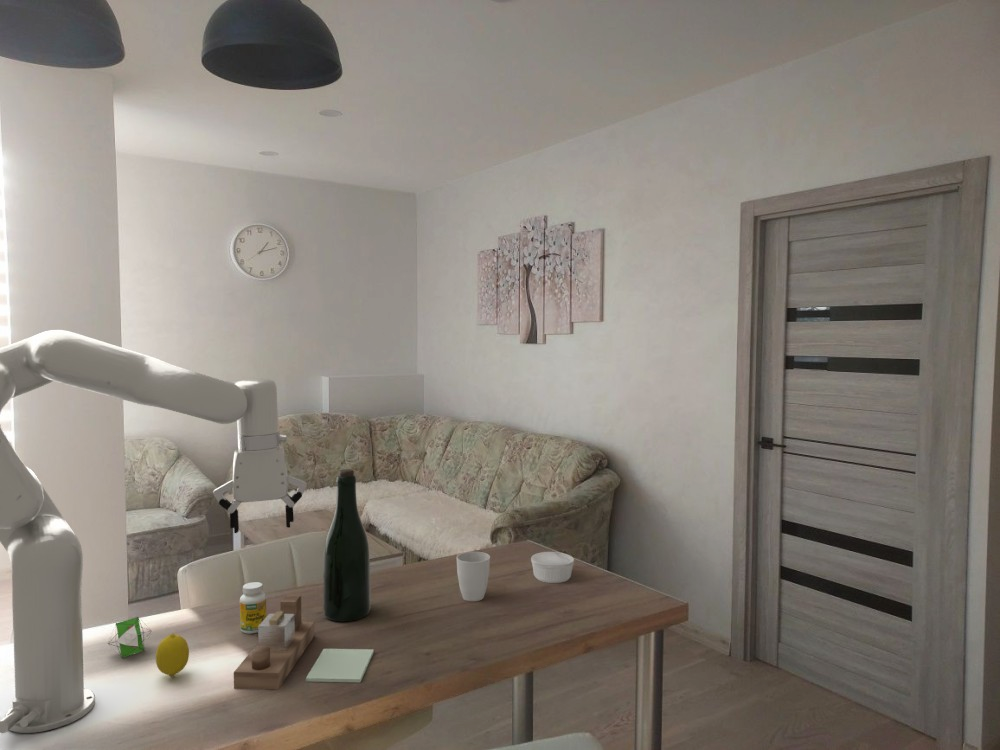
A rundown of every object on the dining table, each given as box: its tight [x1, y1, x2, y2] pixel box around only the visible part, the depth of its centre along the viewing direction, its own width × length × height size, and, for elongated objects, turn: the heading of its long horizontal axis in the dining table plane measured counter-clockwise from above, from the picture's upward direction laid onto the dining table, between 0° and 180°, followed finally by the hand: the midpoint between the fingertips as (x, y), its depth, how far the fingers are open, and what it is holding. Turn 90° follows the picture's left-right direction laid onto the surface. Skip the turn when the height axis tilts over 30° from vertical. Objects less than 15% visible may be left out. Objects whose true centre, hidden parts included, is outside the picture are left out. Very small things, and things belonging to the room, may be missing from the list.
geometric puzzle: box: [107, 616, 153, 659], centre depth 137 cm, size 7×7×8 cm
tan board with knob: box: [233, 594, 315, 690], centre depth 134 cm, size 22×8×9 cm, turn 179°
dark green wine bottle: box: [322, 468, 371, 622], centre depth 156 cm, size 10×10×33 cm
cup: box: [456, 551, 491, 602], centre depth 167 cm, size 8×8×10 cm
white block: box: [258, 610, 295, 652], centre depth 134 cm, size 6×5×6 cm
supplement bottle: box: [239, 581, 267, 635], centre depth 148 cm, size 5×5×10 cm
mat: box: [305, 648, 375, 683], centre depth 132 cm, size 12×10×1 cm
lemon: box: [155, 633, 190, 678], centre depth 128 cm, size 6×6×8 cm
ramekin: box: [530, 551, 575, 584], centre depth 182 cm, size 11×11×5 cm
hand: (262, 528), depth 136 cm, fingers open, 9 cm apart
